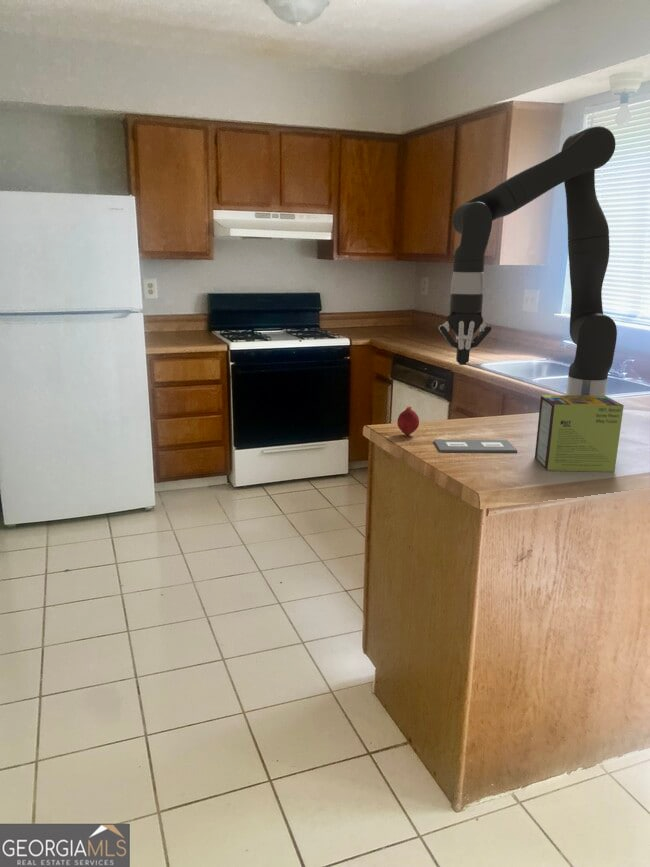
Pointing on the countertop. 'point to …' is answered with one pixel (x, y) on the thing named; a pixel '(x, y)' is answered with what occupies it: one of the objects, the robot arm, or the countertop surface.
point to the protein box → (578, 433)
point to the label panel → (474, 446)
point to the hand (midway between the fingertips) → (462, 364)
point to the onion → (408, 421)
